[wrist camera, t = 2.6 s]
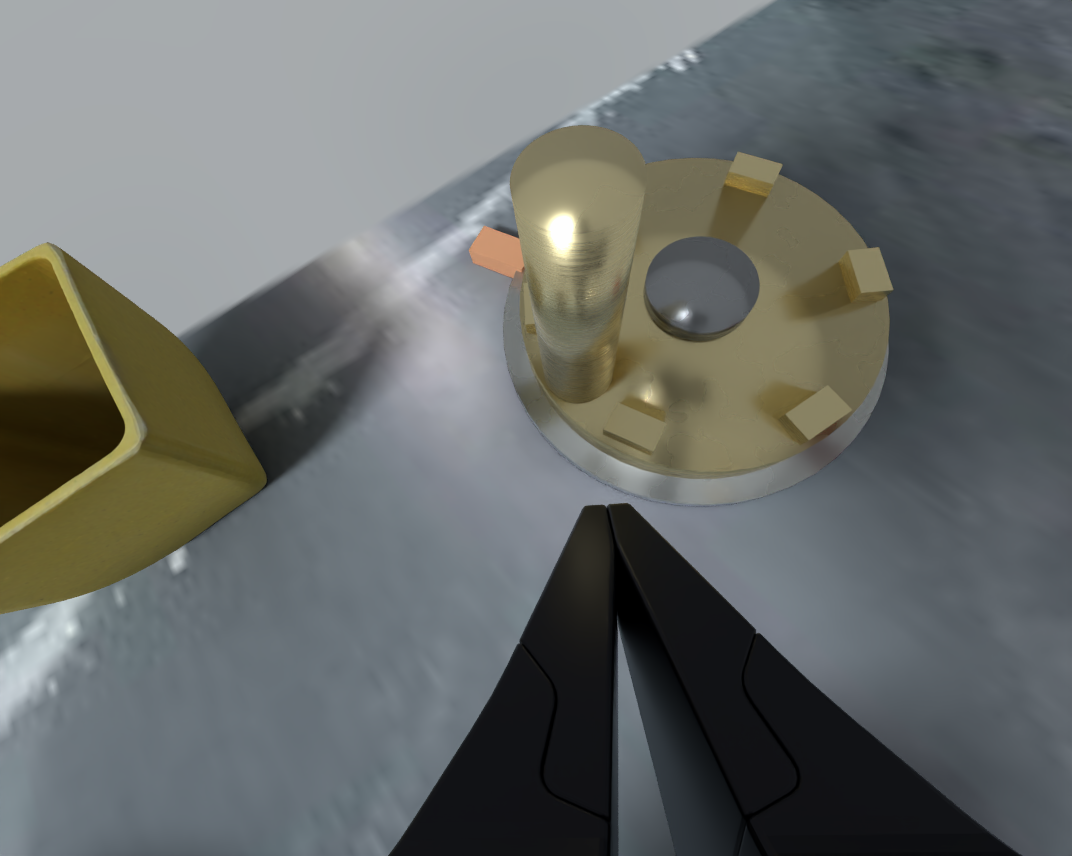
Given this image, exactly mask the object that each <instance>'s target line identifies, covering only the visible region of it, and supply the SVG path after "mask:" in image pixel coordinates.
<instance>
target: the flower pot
mask: <svg viewBox="0 0 1072 856" xmlns="http://www.w3.org/2000/svg"><path fill="white" fill-rule="evenodd" d="M266 482H267V477H266V473H265V471H264V469H263V468H262V466H261V464H260V462H259V461H258V459H257V457H256V455H255V454H254V452H253V450H252V448H251V447H250V445H249V443H248V442H247V440H246V438H245V436H244V434H243V433H242V431H241V429H240V427H239V426H238V424H237V422H236V420H235V419H234V417H233V415H232V413H231V411H230V409H229V408H228V406H227V404H226V402H225V400H224V399H223V397H222V395H221V393H220V391H219V390H218V388H217V386H216V384H215V383H214V381H213V380H212V378H211V377H210V375H209V374H208V373H207V371H206V370H205V368H204V367H203V366H202V364H201V363H200V362H199V361H198V359H197V358H196V357H195V356H194V355H193V353H192V352H191V351H190V350H189V349H188V348H187V347H186V346H185V345H184V344H183V343H182V342H181V341H180V340H179V339H178V338H177V337H176V336H175V335H174V334H173V333H171V332H170V331H169V330H168V329H167V328H166V327H164V326H163V325H162V324H160V323H159V322H158V321H157V320H155V319H154V318H153V317H151V316H150V315H149V314H147V313H146V312H145V311H143V310H142V309H141V308H139V307H138V306H137V305H136V304H134V303H133V302H132V301H130V300H129V299H128V298H126V297H125V296H123V295H122V294H121V293H120V292H118V291H117V290H115V289H114V288H113V287H112V286H110V285H109V284H108V283H106V282H105V281H104V280H102V279H101V278H100V277H98V276H97V275H95V274H94V273H93V272H91V271H90V270H89V269H88V268H86V267H85V266H83V265H82V264H81V263H79V262H78V261H77V260H75V259H74V258H73V257H71V256H70V255H69V254H67V253H66V252H65V251H63V250H62V249H60V248H59V247H57V246H56V245H54V244H51V243H44V244H41V245H39V246H36V247H35V248H33V249H31V250H29V251H27V252H25V253H23V254H22V255H20V256H18V257H17V258H15V259H13V260H11V261H10V262H8V263H6V264H4V265H3V266H1V267H0V614H4V613H9V612H13V611H18V610H23V609H28V608H33V607H37V606H42V605H47V604H51V603H56V602H60V601H64V600H67V599H71V598H74V597H78V596H81V595H84V594H87V593H90V592H93V591H96V590H98V589H101V588H104V587H106V586H109V585H111V584H113V583H115V582H118V581H120V580H122V579H124V578H127V577H129V576H131V575H133V574H135V573H137V572H139V571H141V570H143V569H144V568H146V567H148V566H150V565H152V564H154V563H155V562H157V561H159V560H160V559H162V558H164V557H165V556H167V555H169V554H170V553H172V552H174V551H176V550H177V549H179V548H180V547H182V546H183V545H184V544H186V543H187V542H189V541H190V540H192V539H193V538H194V537H196V536H197V535H199V534H200V533H201V532H203V531H204V530H206V529H207V528H208V527H210V526H211V525H212V524H214V523H215V522H217V521H218V520H219V519H221V518H222V517H224V516H225V515H226V514H228V513H229V512H231V511H232V510H234V509H235V508H237V507H238V506H239V505H241V504H242V503H244V502H245V501H246V500H248V499H249V498H251V497H252V496H254V495H255V494H256V493H258V492H259V491H260V490H261V489H262V488H263V487H264V486H265V485H266Z"/></svg>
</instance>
